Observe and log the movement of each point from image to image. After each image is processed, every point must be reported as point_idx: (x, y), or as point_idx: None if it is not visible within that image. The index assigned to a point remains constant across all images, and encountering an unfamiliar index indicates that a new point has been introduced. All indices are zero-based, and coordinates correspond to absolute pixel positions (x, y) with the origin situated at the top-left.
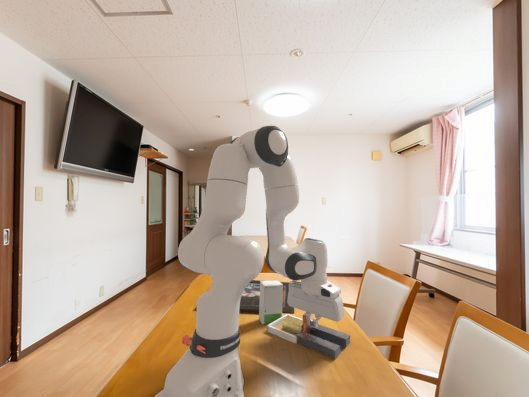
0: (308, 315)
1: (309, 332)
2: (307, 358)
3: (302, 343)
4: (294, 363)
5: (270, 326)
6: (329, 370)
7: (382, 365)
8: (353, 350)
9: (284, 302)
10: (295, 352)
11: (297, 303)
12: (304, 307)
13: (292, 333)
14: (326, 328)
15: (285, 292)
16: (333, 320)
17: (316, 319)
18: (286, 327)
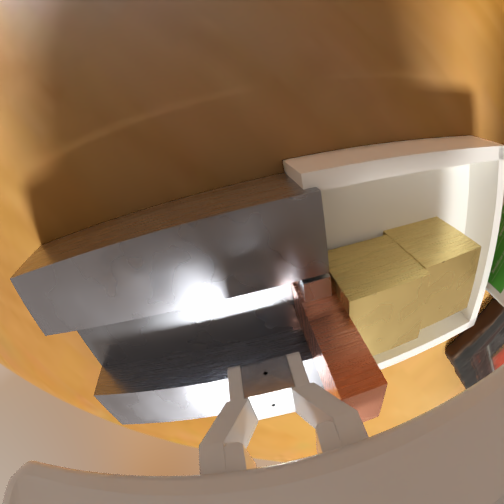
0: (327, 418)
1: (299, 320)
2: (133, 131)
3: (243, 192)
4: (147, 27)
5: (492, 151)
6: (10, 173)
7: (8, 360)
8: (96, 371)
9: (490, 360)
10: (233, 107)
11: (492, 436)
12: (396, 470)
13: (382, 237)
14: None
15: None
16: (45, 465)
17: (223, 429)
18: (434, 236)
